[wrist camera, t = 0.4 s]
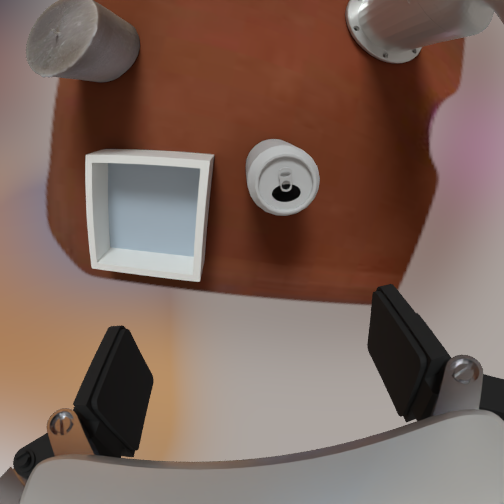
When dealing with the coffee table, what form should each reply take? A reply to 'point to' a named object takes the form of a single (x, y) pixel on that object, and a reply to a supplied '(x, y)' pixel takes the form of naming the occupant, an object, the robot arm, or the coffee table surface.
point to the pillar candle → (81, 42)
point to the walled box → (148, 211)
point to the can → (281, 177)
